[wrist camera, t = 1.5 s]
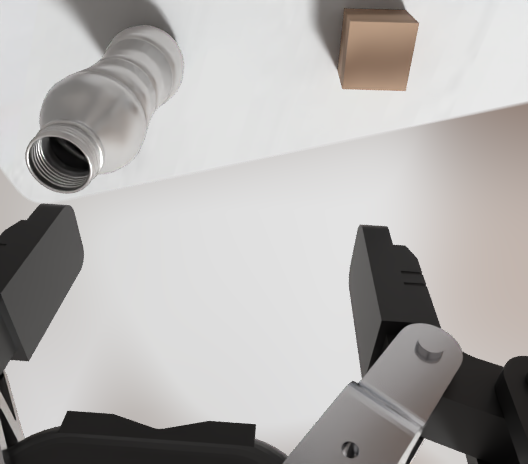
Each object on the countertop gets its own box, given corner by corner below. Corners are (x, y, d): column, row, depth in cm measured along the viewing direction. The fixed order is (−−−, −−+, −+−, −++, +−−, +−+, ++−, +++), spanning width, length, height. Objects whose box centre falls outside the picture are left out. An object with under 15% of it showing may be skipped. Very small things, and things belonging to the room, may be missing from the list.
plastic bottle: (204, 59, 40) (145, 165, 24) (157, 109, 43) (77, 234, 27) (145, 1, 38) (36, 77, 22) (100, 59, 41) (-25, 163, 25)
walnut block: (344, 8, 38) (350, 21, 34) (405, 9, 37) (418, 23, 33) (337, 69, 41) (342, 88, 36) (394, 71, 40) (405, 90, 36)
